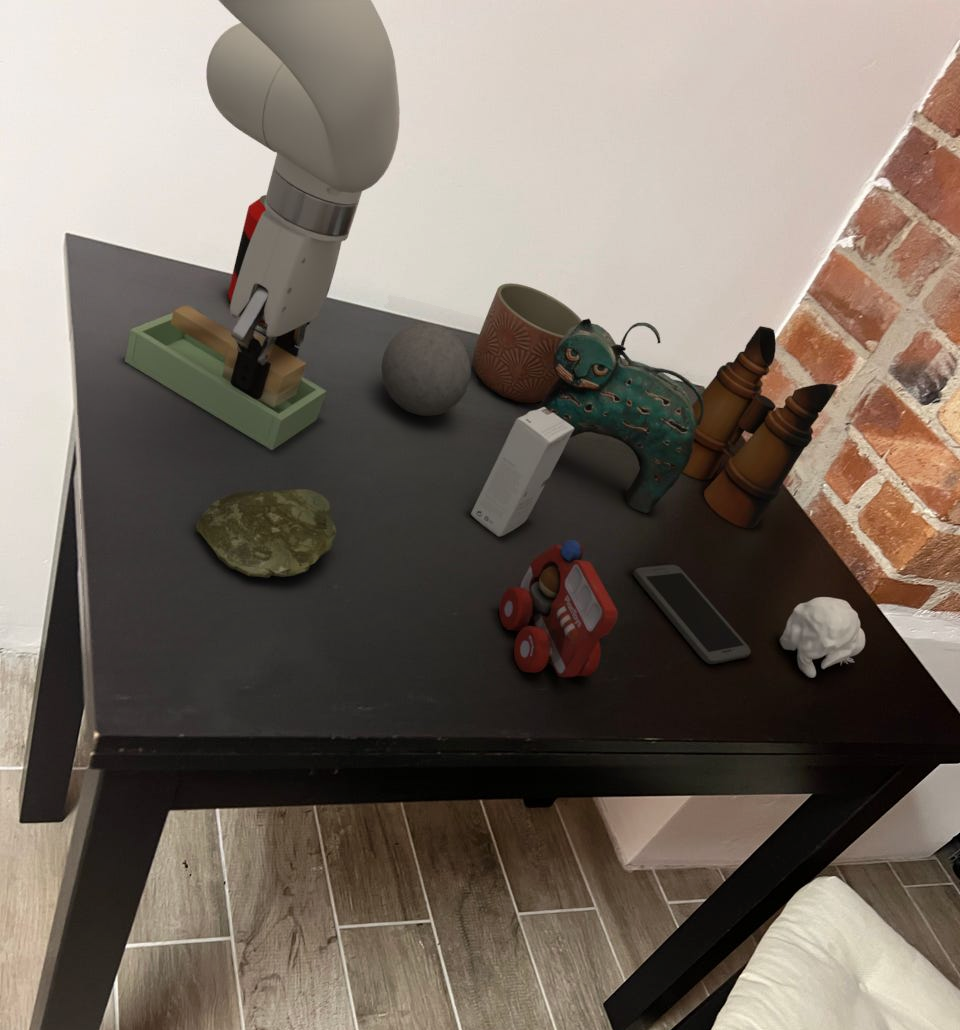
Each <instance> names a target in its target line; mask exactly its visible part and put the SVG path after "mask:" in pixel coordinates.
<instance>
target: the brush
mask: <svg viewBox="0 0 960 1030" xmlns="http://www.w3.org/2000/svg"><path fill="white" fill-rule="evenodd" d="M172 313H173V316H172V321H171V325H172V326H174V327H176V328H177V329H179V330H181V331H182V332H184V333H186V334H187V335H189V336H191V337H192V338H194V339H196V340H197V341H199V342H201V343H202V344H204V345H206V346H207V347H209V348H211V349H212V350H214V351H216V352H217V353H219V354H221V355H222V356H224V357H226V361H225V367H224V371H223V375H222V377H223V378H225V379H227V380H228V381H230V382H231V378H232V374H233V370H234V366H235V362H236V359H237V355H238V350H237V345H238V344H237V342H236V340H235V339H234V338H233V337H232V336H231V333H232V330H229V329H227V327H225V326H223V325H222V324H220V323H218V322H216V321H214V320H213V319H211V318H210V317H208V316H207V315H204V314H203V313H201V312H199V311H198V310H196V309H195V308H193V307H191V306H190V305H187V304H186V305H183V306H181V307H178V308H175V309H173V311H172ZM253 335H254V337H255V339H257V340H259V342H260V344H261V346H262V345H263V343H264V340H265V338H266V337H264V336H263V335H261V334H258V332H254V334H253ZM267 362H269V363H270V364H271V365H270V369H269V372H268V376H267V379H266V383H265V386H264V390H263V393H262V396H261V398H259V399H260V400H262V401H263V402H265V403H267V404H268V405H270V406H272V407H273V408H275V407H276V406H278V405H280V404H281V403H283V402H284V401H286V400H288V399H289V398H291V397H293V396H294V395H296V394H297V391H298V387H299V384H300V382H301V379H302V377H304V372H305V369H306V366H307V362H305V361H303V360H302V359H300V358H299V357H298V356H297V357H295V356H293V355H292V354H290V353H288V352H287V351H285V350H283V349H282V348H280V347H278V346H277V345H275V344H274V346H273V348H272V351H271V353H270V356H269V358H268V361H267Z"/></svg>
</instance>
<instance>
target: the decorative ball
mask: <svg viewBox="0 0 960 1030" xmlns="http://www.w3.org/2000/svg"><path fill="white" fill-rule="evenodd" d="M381 378H382V382H383V384H384V387H385V389H386V392H387V394H388V396H389V397H390V398H391V399H392V401H393V402H394V403H395V404H397V406H399V407H400V408H401V409H403V410H405V411H406V412H408V413H411V414H414V415H417V416H423V417H430V416H436V415H440V414H444V413H445V412H448V411H449V410H451V409H452V408H453V407H455V406H456V405H457V404H458V403H459V402H460V401H461V399H462V398H463V397H464V395H465V393H466V391H467V389H468V386H469V384H470V379H471V361H470V357H469V354H468V352H467V349H466V347H465V345H464V344H463V342H462V340H460V338H459V337H458V336H457V335H456V334H455V333H454V332H453V331H451V330H450V329H448V328H445V327H444V326H442V325H439V324H435V323H429V322H421V323H416V324H411V325H410V326H406V327H405V328H403V329H402V330H400V331H398V332H397V333H396V334H395V335H394V337H392V338H391V340H390V341H389V343H388V344H387V346H386V347H385V350H384V352H383V356H382V361H381Z"/></svg>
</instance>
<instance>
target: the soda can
mask: <svg viewBox="0 0 960 1030" xmlns="http://www.w3.org/2000/svg"><path fill="white" fill-rule="evenodd" d="M265 199H266V194H264V195H261V196H260V197H259V198H257V200H254V202H252V203H250V204H249V206H248V207H247V211H246V216H245V220H244V223H243V224H244V225H243V227H242V233H241V237H240V240H239V245H238V249H237V254H236V257H235V262H234V266H233V271H232V273H231V279H230V282H229V287H228V292H227V297H228V299H229V301H230V302H231V301H232V297H233V293H234V290H235V286H236V283H237V280H238V276H239V273H240V270H241V267H242V264H243V260H244V257H245V254H246V251H247V248H248V246H249V243H250V240H251V238H252V235H253V233H254V231H255V228H256V226H257V224H258V221H259V219H260V217H261V215H262V213H263V212H264V211H266V209H265V206H264V202H265ZM260 322H262V323H265V320H263V319H261V320H260Z"/></svg>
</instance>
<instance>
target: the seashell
mask: <svg viewBox="0 0 960 1030" xmlns="http://www.w3.org/2000/svg"><path fill="white" fill-rule="evenodd" d="M331 510H332V509H331V504H330V502H329V500H328V499H327V498H326V497H325V496H324V495H322V494H320V493H319V492H317V491H314V490H310V489H302V488H301V489H299V488H297V489H287V490H244V491H238V492H234V493H230V494H227V495H225V496H223V497H221V498H219V499H217V500H216V501H214V502H212V503H211V505H209V507H207V509H206V510H205V511H204V513H203V514H202V515H201V517H200V518H199V519H198V520H197V524H196V525H195V527H196V532H197V533H199V534H200V535H201V537H202V538H203V539H204V540H205V542H206V543H207V544H208V546H210V548H211V549H212V551H213V552H214V554H215V555H216V557H217V559H219V560H220V561H221V562H222V563H224V564H225V565H226V566H227V567H228V568H230V569H231V570H236V571H238V572H240V573H242V574H243V575H246V576H248V577H259V578H268V579H269V578H270V577H271V576H273V577H280V578H285V577H293V576H297V575H299V574H302V573H305V572H307V571H308V570H309V569H310V567H311V566H312V565H314V564H315V563H316V562H317V561H318V560H319V559H320V558H321V557H323V556H324V555H326V554H327V553H329V552H330V551H331V549H332V546H333V542H334V541H335V538H336V535H337V528H336V525H335V524H334V522H333V518H332V515H331V514H332V513H331V512H332V511H331Z"/></svg>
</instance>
